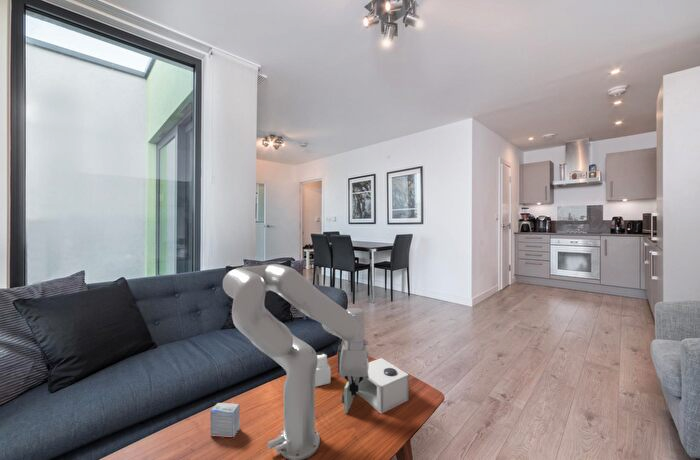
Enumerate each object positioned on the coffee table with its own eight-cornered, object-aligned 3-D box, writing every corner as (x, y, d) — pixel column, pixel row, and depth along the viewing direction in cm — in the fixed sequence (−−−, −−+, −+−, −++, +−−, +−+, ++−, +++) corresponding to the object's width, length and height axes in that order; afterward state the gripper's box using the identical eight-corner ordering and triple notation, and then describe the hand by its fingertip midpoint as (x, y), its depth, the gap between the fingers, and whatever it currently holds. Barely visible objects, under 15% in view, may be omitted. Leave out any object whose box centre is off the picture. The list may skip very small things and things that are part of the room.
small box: (360, 365, 135) (360, 344, 134) (360, 372, 128) (360, 350, 128) (338, 365, 135) (338, 344, 134) (337, 372, 128) (337, 350, 128)
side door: (341, 412, 101) (341, 387, 100) (351, 391, 113) (351, 369, 113) (347, 413, 100) (347, 388, 100) (356, 392, 113) (356, 369, 112)
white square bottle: (309, 378, 123) (309, 351, 123) (325, 375, 126) (325, 348, 126) (314, 387, 117) (314, 359, 116) (330, 383, 120) (330, 355, 119)
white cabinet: (381, 413, 101) (381, 384, 100) (355, 391, 114) (355, 366, 113) (408, 399, 108) (408, 372, 108) (381, 380, 122) (381, 356, 121)
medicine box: (240, 429, 93) (240, 403, 93) (233, 439, 89) (233, 412, 89) (218, 427, 94) (217, 402, 94) (210, 437, 90) (209, 410, 89)
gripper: (375, 340, 103) (375, 389, 104) (335, 337, 105) (335, 385, 106) (374, 349, 96) (374, 401, 96) (331, 346, 98) (331, 398, 98)
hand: (353, 393), depth 101 cm, fingers closed
